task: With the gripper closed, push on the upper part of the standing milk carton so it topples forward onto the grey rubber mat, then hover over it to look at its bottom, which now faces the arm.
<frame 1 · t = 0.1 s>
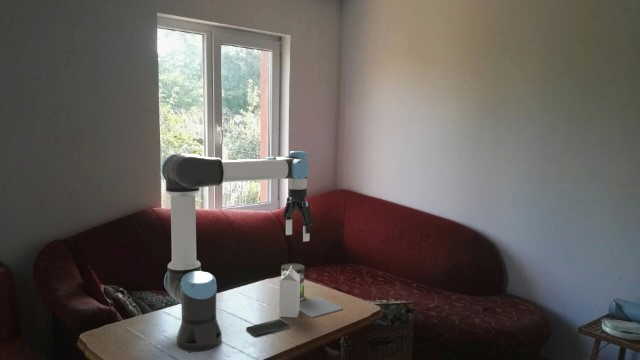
hand: (297, 237, 200), 28 cm above the table, tool pointing down, fingers open, 13 cm apart
phone: (267, 330, 176), on the table
coffee can: (292, 298, 208), on the table
milk carton: (289, 314, 190), on the table
mat: (316, 307, 197), on the table
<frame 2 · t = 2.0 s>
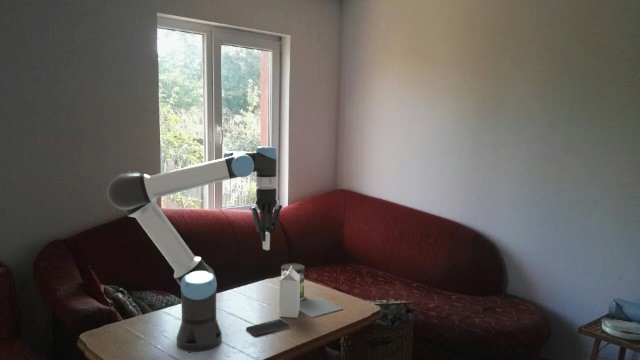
hand: (266, 249, 180), 28 cm above the table, tool pointing down, fingers closed
nothing on the table moved.
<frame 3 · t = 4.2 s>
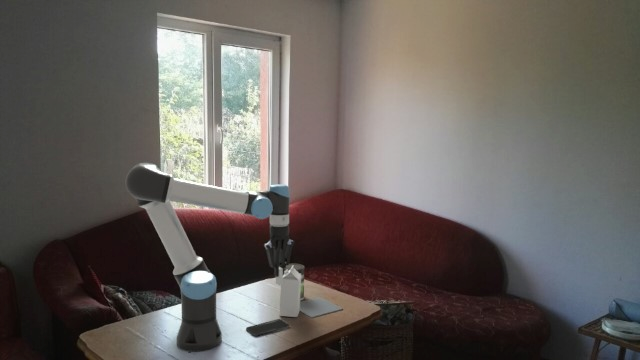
hand: (279, 283, 185), 14 cm above the table, tool pointing down, fingers closed
milk carton: (289, 314, 189), on the table, touching gripper
everything else where it was.
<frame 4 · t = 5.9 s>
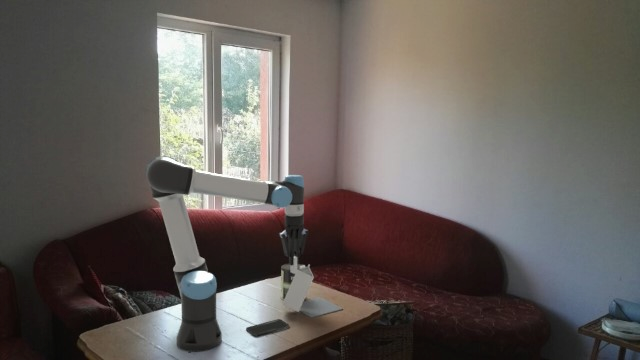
hand: (293, 272, 189), 17 cm above the table, tool pointing down, fingers closed
milk carton: (290, 308, 189), point 2 cm above the table, touching mat
everything else where it was.
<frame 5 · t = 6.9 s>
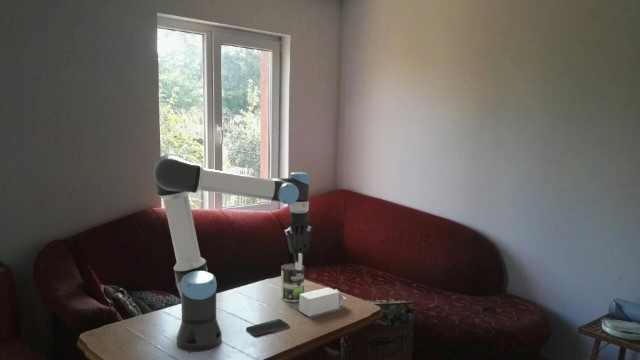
hand: (298, 269, 190), 18 cm above the table, tool pointing down, fingers closed
milk carton: (303, 305, 189), point 4 cm above the table, touching mat
everything else where it was.
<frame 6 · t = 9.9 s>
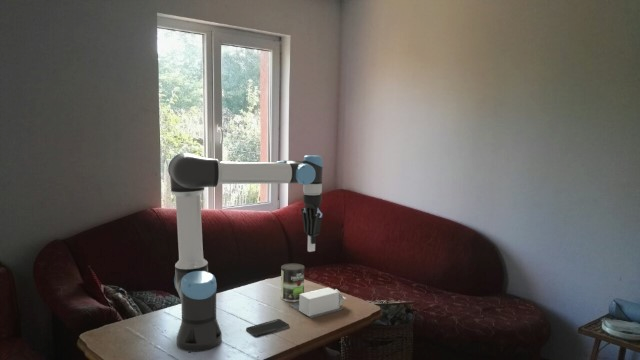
hand: (311, 250, 193), 25 cm above the table, tool pointing down, fingers closed
nothing on the table moved.
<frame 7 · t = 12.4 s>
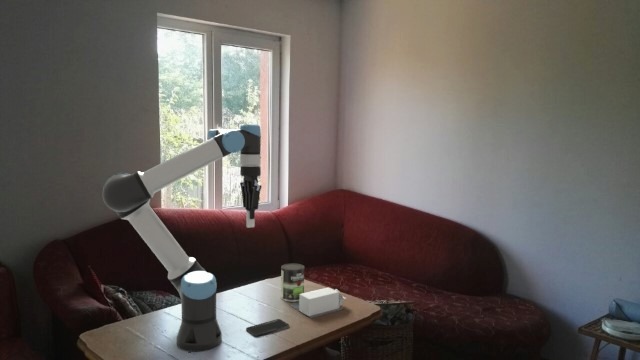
hand: (250, 226, 181), 36 cm above the table, tool pointing down, fingers closed
nothing on the table moved.
at the end: milk carton tilted 90°; milk carton inside the target area (9.5 cm from its centre), point 4.0 cm above the table; milk carton touching mat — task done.
